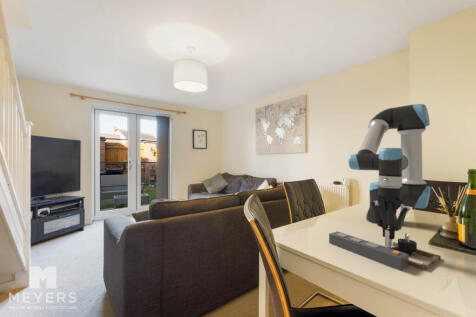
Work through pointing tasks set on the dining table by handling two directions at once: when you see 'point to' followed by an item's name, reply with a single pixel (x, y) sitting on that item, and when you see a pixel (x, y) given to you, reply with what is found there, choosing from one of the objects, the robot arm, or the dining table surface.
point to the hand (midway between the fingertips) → (388, 246)
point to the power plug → (406, 245)
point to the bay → (427, 263)
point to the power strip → (370, 250)
